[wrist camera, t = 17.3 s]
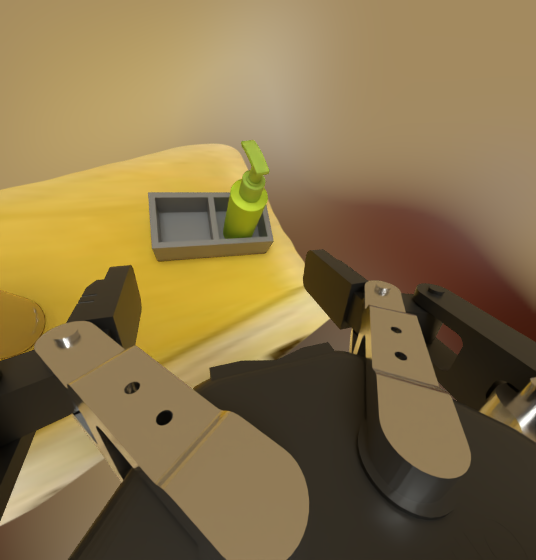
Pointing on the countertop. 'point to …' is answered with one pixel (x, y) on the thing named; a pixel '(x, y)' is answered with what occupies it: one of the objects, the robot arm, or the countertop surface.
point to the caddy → (199, 227)
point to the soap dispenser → (247, 196)
